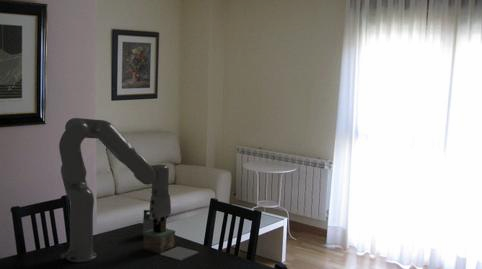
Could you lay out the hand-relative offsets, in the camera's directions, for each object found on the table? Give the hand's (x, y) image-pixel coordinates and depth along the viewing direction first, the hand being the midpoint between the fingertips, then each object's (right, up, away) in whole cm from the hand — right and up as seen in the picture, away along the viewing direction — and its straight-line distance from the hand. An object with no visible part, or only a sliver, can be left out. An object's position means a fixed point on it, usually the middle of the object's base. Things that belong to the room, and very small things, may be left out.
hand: (159, 230), depth 254 cm
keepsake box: (0, -8, +1) cm, 8 cm away
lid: (0, -1, 0) cm, 1 cm away
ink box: (-7, -6, +20) cm, 22 cm away
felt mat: (+10, -10, -5) cm, 15 cm away
